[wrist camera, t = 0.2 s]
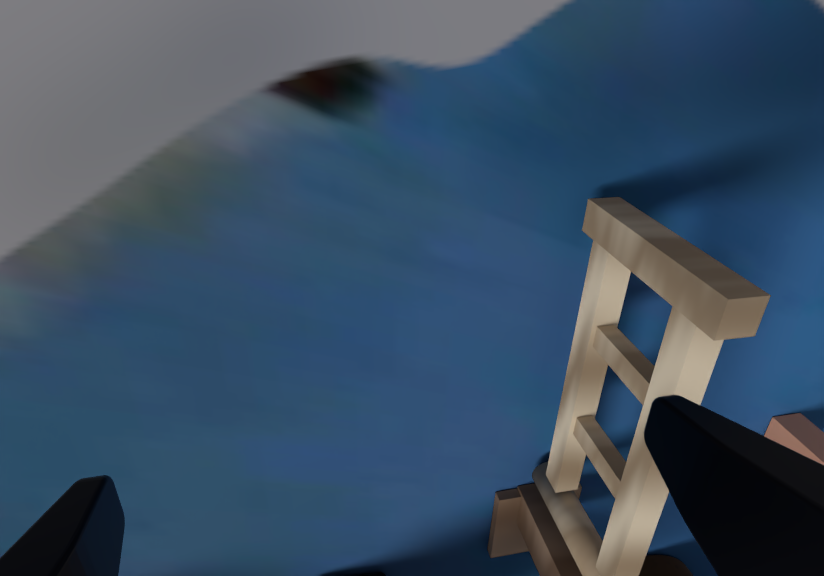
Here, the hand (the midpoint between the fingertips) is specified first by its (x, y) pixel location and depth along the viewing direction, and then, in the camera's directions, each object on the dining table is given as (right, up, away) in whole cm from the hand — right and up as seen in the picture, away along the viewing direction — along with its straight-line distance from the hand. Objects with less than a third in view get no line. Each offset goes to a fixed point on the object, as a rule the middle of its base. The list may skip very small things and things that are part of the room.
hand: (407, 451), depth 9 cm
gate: (+8, -1, +18) cm, 19 cm away
